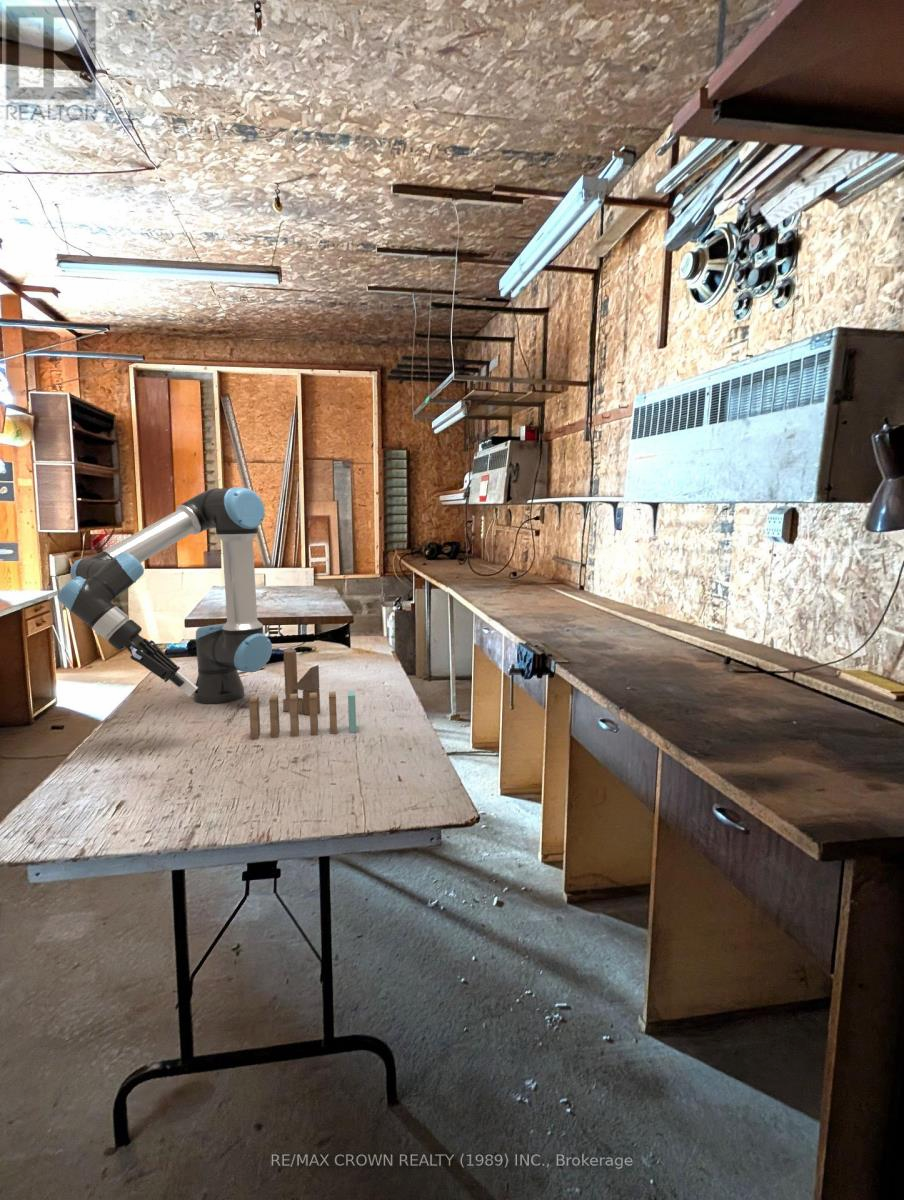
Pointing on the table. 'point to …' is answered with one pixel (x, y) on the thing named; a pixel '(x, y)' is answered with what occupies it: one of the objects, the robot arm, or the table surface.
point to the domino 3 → (294, 715)
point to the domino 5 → (332, 712)
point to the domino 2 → (274, 716)
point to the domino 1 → (254, 717)
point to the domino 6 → (352, 711)
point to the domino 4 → (313, 714)
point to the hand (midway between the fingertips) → (193, 692)
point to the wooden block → (300, 683)
